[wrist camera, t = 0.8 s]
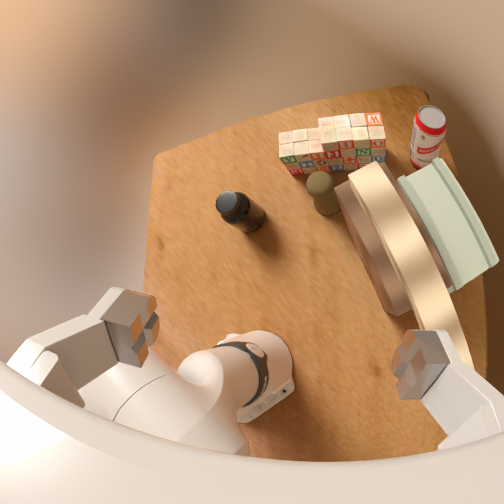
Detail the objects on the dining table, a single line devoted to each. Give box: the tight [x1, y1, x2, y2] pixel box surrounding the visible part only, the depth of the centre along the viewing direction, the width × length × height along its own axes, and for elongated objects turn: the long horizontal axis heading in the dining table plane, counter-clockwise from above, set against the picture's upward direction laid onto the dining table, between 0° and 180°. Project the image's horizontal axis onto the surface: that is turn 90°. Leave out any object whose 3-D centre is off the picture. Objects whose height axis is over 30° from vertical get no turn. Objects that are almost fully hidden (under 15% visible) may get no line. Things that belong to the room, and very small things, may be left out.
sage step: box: [397, 157, 499, 294], centre depth 40 cm, size 18×12×19 cm, turn 22°
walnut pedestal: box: [334, 162, 452, 316], centre depth 39 cm, size 16×7×26 cm, turn 22°
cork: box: [306, 171, 341, 216], centre depth 53 cm, size 6×6×11 cm
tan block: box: [348, 161, 475, 371], centre depth 24 cm, size 24×4×4 cm, turn 22°
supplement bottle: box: [216, 191, 264, 233], centre depth 59 cm, size 7×7×12 cm
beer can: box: [409, 105, 446, 169], centre depth 43 cm, size 6×6×16 cm
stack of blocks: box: [279, 113, 386, 175], centre depth 53 cm, size 21×6×12 cm, turn 87°
